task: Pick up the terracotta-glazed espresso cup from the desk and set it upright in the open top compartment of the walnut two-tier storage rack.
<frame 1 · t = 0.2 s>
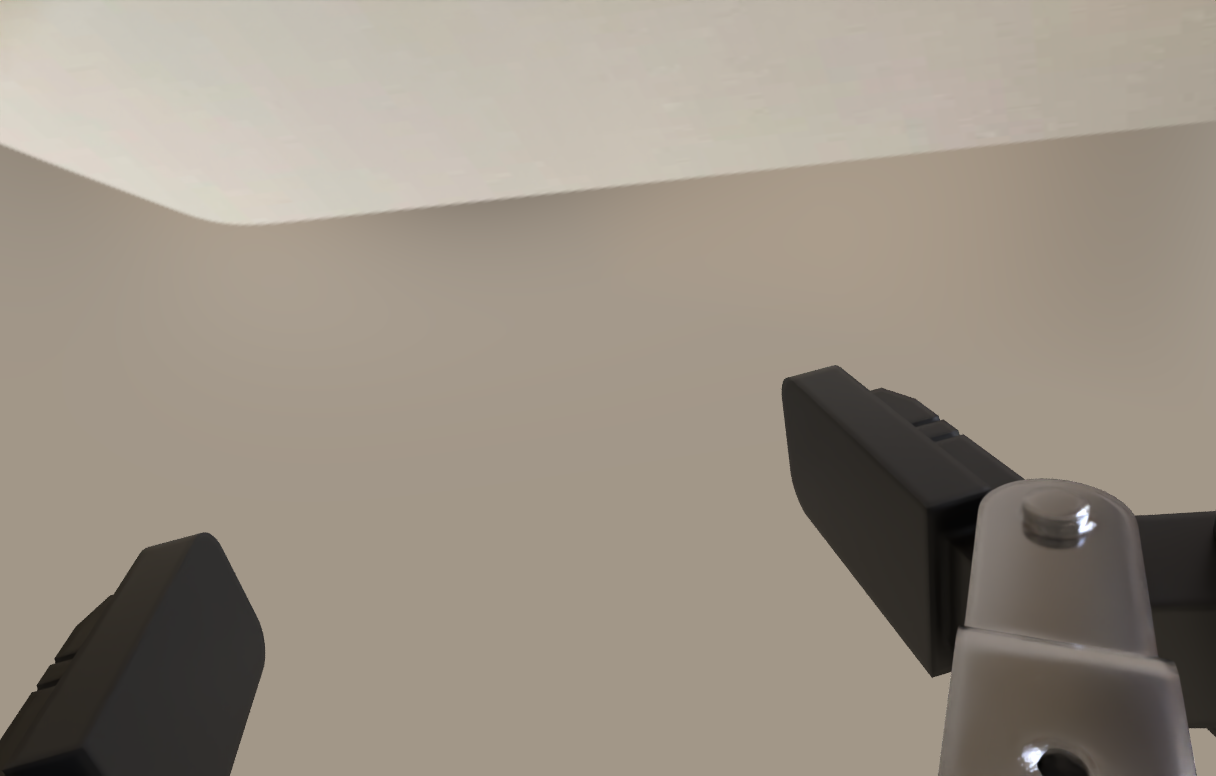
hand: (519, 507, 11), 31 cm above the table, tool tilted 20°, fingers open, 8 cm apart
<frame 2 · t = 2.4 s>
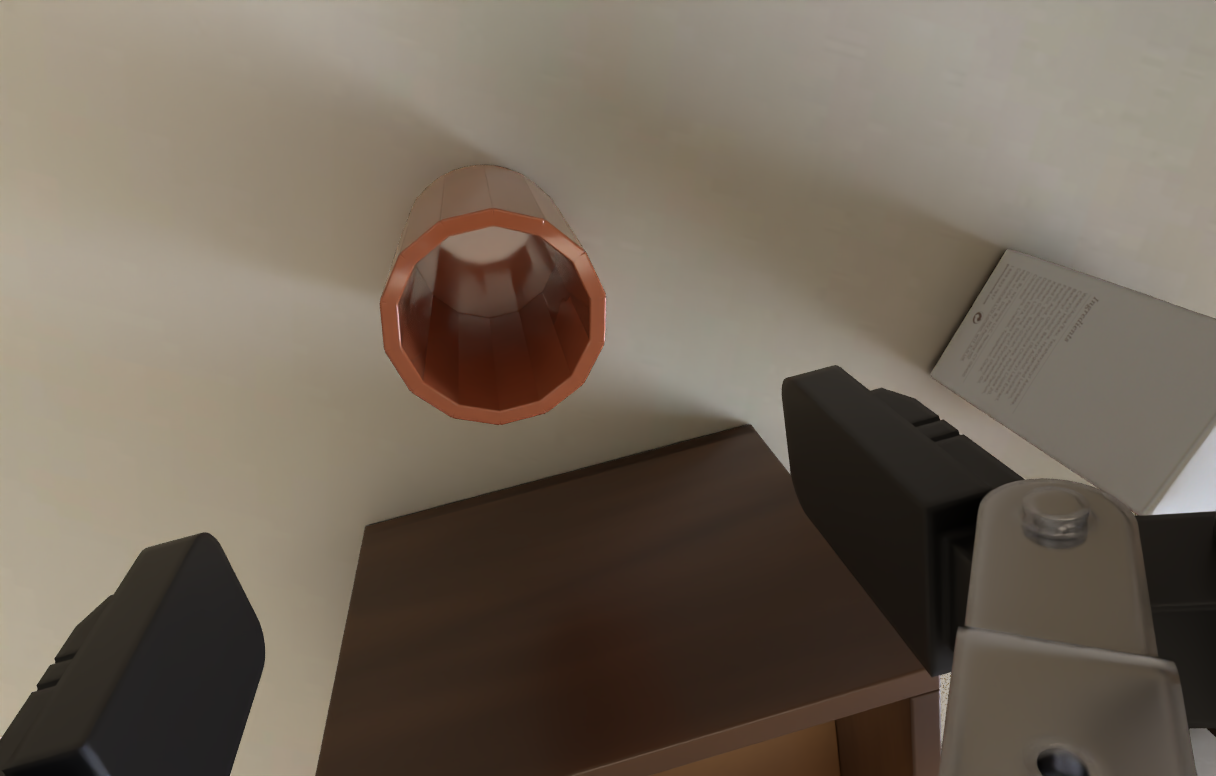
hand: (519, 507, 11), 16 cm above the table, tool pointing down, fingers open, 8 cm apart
small box: (1035, 344, 31), on the table
cup: (486, 246, 25), on the table
storage rack: (603, 633, 32), on the table
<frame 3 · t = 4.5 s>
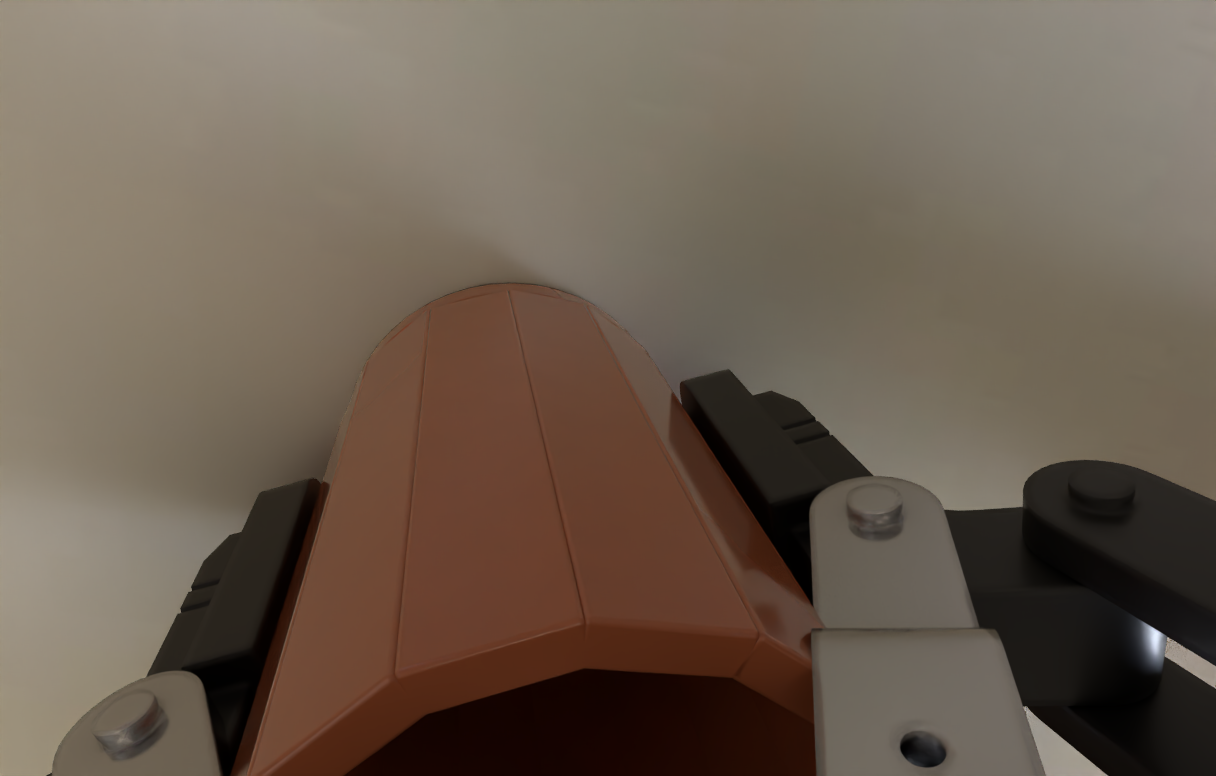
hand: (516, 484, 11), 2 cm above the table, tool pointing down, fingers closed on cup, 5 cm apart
cup: (510, 433, 13), on the table, touching gripper
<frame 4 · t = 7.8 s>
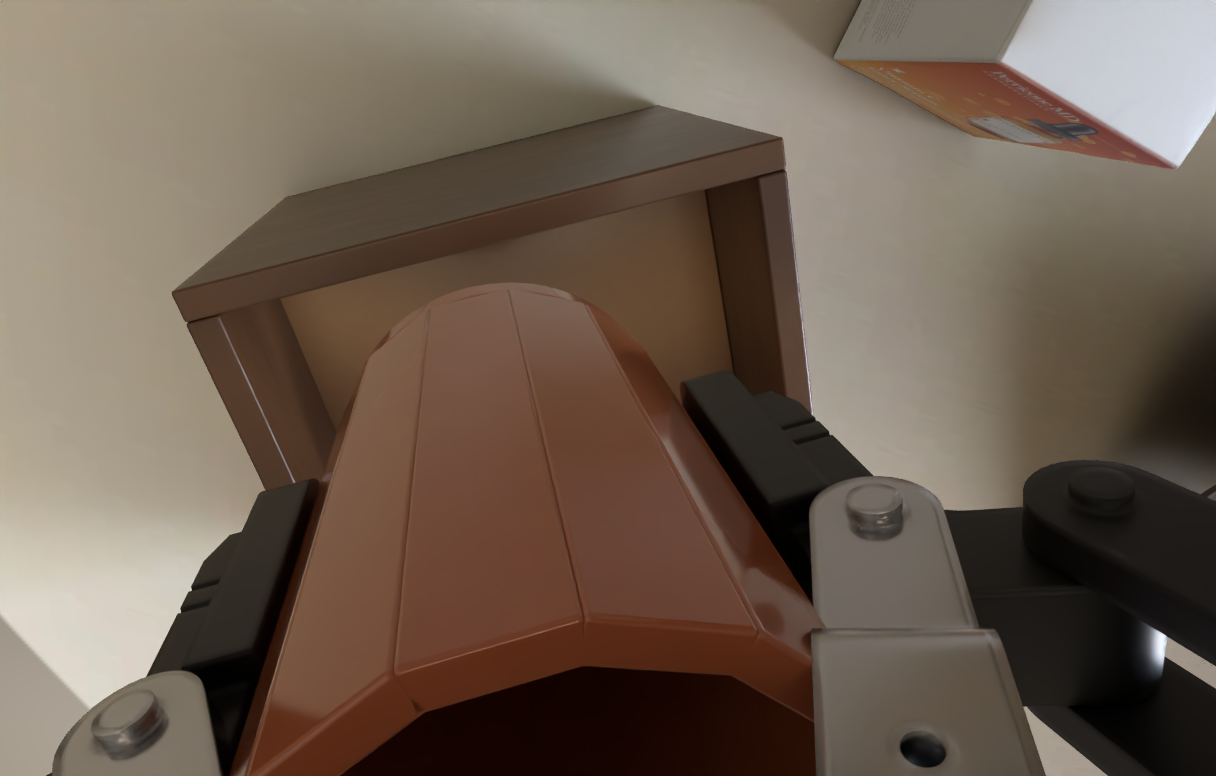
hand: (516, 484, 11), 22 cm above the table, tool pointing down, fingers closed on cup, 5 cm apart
small box: (937, 35, 32), on the table
cup: (510, 432, 13), point 20 cm above the table, touching gripper
storage rack: (527, 336, 33), on the table
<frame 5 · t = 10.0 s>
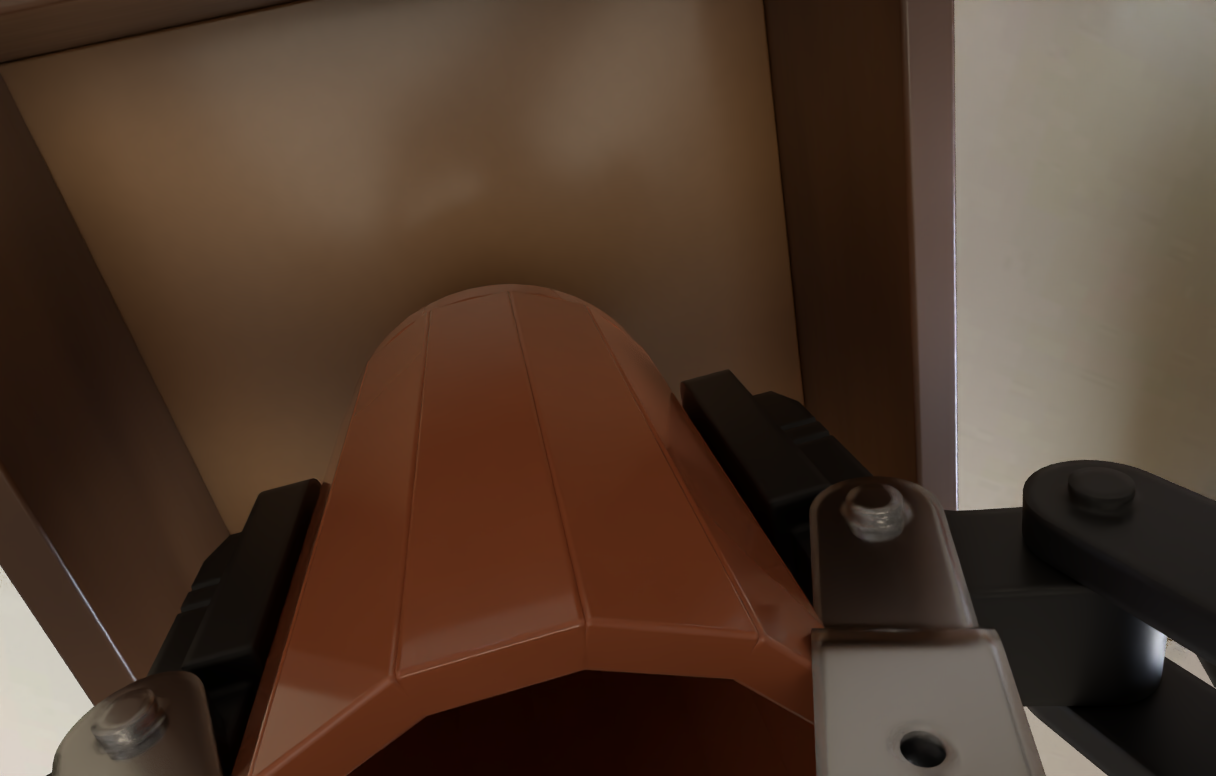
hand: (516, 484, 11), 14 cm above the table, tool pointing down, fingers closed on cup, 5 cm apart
cup: (510, 434, 13), point 12 cm above the table, touching gripper
storage rack: (484, 262, 24), on the table
when the fingers open (10 cm above the table, at t = 11.5 s): cup stays where it is, resting on storage rack.
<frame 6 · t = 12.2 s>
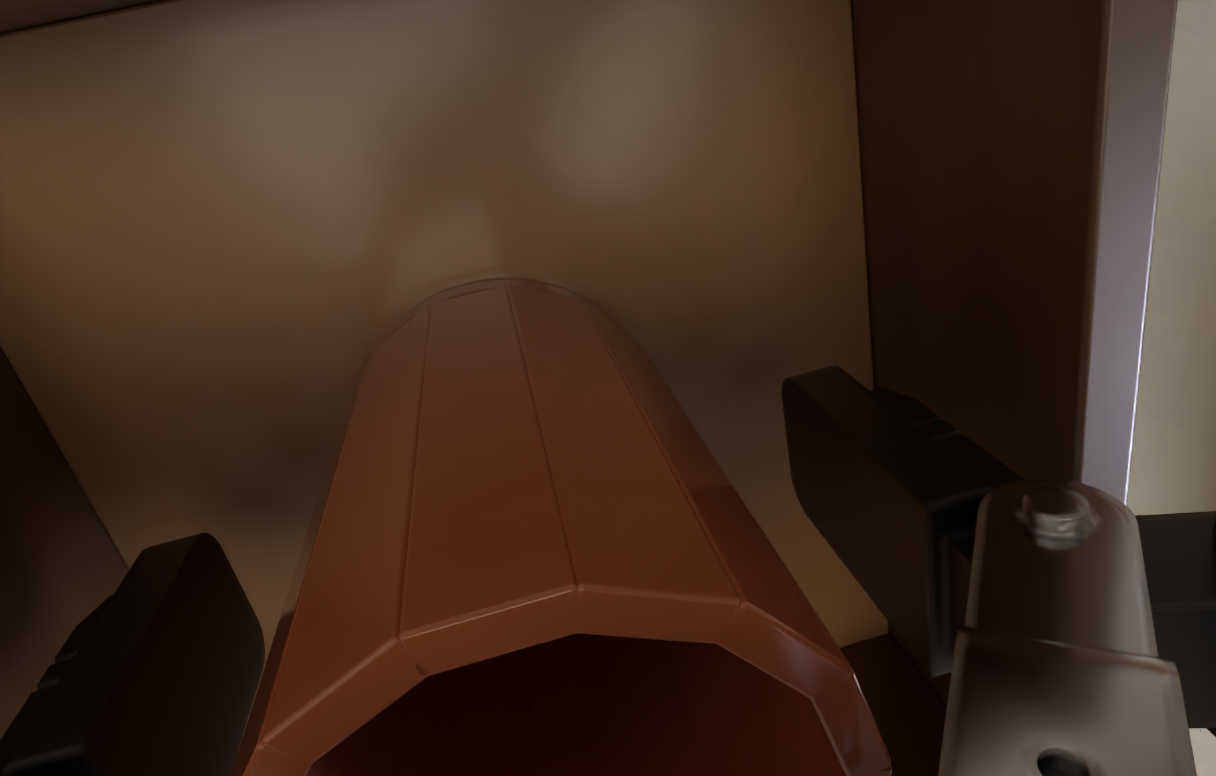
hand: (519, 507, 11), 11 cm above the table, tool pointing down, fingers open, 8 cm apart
cup: (508, 426, 13), point 8 cm above the table, touching storage rack
storage rack: (488, 297, 20), on the table
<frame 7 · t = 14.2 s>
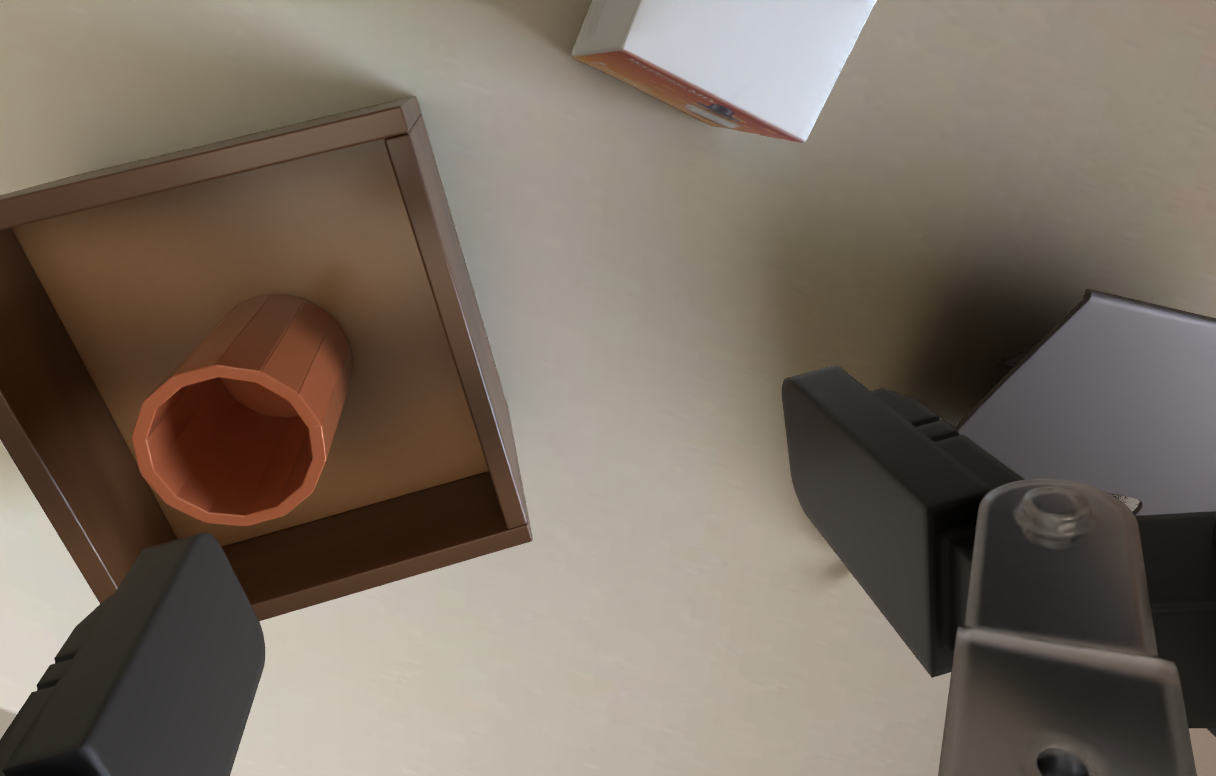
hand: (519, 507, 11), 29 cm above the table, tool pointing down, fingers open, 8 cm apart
small box: (668, 36, 36), on the table
cup: (283, 358, 30), point 8 cm above the table, touching storage rack
storage rack: (314, 303, 37), on the table
laptop tray: (1029, 442, 49), on the table
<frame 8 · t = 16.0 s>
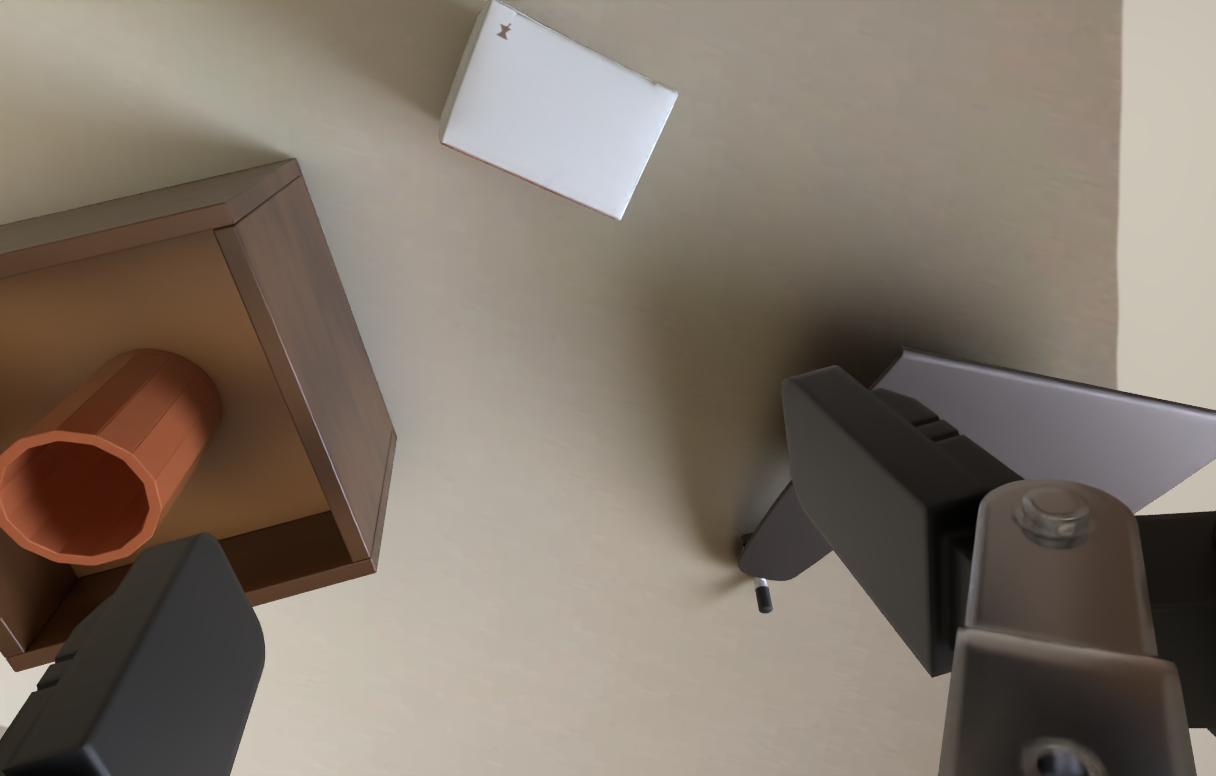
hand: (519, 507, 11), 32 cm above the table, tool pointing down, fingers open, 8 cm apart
small box: (533, 103, 39), on the table
cup: (157, 405, 33), point 8 cm above the table, touching storage rack
storage rack: (209, 343, 41), on the table
laptop tray: (903, 470, 52), on the table
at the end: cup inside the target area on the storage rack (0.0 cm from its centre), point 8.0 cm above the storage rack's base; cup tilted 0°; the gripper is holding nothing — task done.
